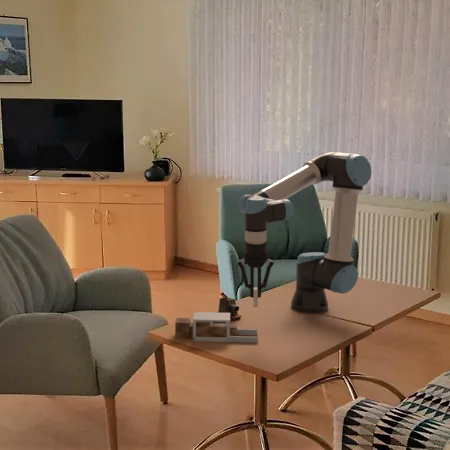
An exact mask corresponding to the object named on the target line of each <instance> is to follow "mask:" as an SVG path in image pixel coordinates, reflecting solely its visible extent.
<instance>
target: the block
mask: <svg viewBox="0 0 450 450" xmlns="http://www.w3.org/2000/svg"><path fill="white" fill-rule="evenodd" d="M190 323H191V318H190V317H189V318H187V317H176V319H175V325H174V326H175V327H174V328H175V329H174V330H175V331H174V333H175V334H174V335H175V339H177V338H189V337H190ZM189 339H190V338H189Z"/></svg>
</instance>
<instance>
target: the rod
mask: <svg viewBox="0 0 450 450" xmlns="http://www.w3.org/2000/svg"><path fill="white" fill-rule="evenodd" d="M237 329H238V323H230V336H238V335H237ZM190 337H191V338H190V339H193V322H190ZM196 337H227V324H219V323H196Z"/></svg>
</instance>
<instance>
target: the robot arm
mask: <svg viewBox="0 0 450 450" xmlns="http://www.w3.org/2000/svg"><path fill="white" fill-rule="evenodd" d="M371 177H372V165H371V163H370V162H369V160H368V158H367V157H365V156H364V155H362V154H357V153H347V152H339V151H329V152H325V153H322V154H320V155H317V156H315V157H313V158H311V159H309V160H308V161H305V162H304V163H303V165H302V167H300V168H299V169H296V170H295V171H293V172H291V173H290V174H287V175H286V176H284V177H282V178H280V179H279V180H278V181H275V182H274V183H272V184H270V185H269V186H266V187H265V188H263V189H261V190H259V191H257V192H256V193H253V194H248V193H247V194H243V195H241V196H240V198H239V200H238V202H237V203H238V209H239V212H240V213H242V214H244V241H245V242H244V256H243V257H242V258H241V259H238V261H237V265H238V266H239V268H240V271H241V274H242V279H243V282H244V286H245V288H248V289H249V296H250V298H253V308H258V307H259V299H260V298H261V297H262V289H264V288H266V287H267V284H268V281H269V276H270V273H271V269H272V267H273V266H274V264H275V263H274V259H270V258H268V257H269V256H268V254H267V241H268V240H267V236H268V235H267V233H268V232H267V225H268V224H271V223H277V222H285V221H287V220H290V219H291V218H292V217H293V215H294V211H295V209H294V208H295V207H294V205H293V203H292V201H290V200H289V199H288V198H290V197H292V196H293V195H295V194H297V193H299V192H300V191H302V190H304V189H306V188H307V187H309V186H311V185H317V184H319V183H321V182H332V189H333V190H334V191H335V193H334V194H335V195H334V202H333V211H332V218H331V219H332V220H331V227H330V234H329V243H328V252H327V253H325V252H318V251H317V252H316V251H312V252H311V251H310V252H303V253H300V254H299V255H298V256H297V262H296V276H295V277H296V279H295V280H296V282H295V284H296V285H295V291H294V293H293V295H292V296H293V297H292V298H291V302H290V303H291V305H290V308H291V309H292V310H294V311H296V312H298V313H299V312H301V313H306V314H319V313H321V314H322V313H324V312H326V311H328V310H329V301H328V299H327V298H328V297H327V294H326V290H327V291H331V292H332V293H338V294H347V293H348V292H350V291H351V290H353V288H354V287H355V286H356V284H357V282H358V278H359V272H358V269H357V267H356V266H354V258H353V256H352V255H351V252H352V246H353V245H352V244H353V235H354V230H355V228H354V227H355V221H356V214H357V205H358V197H359V194H360V193H362V191H364V190H363V189H364V186H366V185H367V184H368V183H369V181H370V179H371ZM245 263H246V264H247V266H248V267H250V271H249V273H250V274H249V275H250V277H249V280H248V276H247V273H246V268H245ZM265 264H266V269H265V272H264V277H263V281H262V267H264V265H265ZM255 268H257V287H255V286H254V284H255V283H254V282H255V279H254V278H255ZM249 282H250V283H249Z"/></svg>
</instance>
